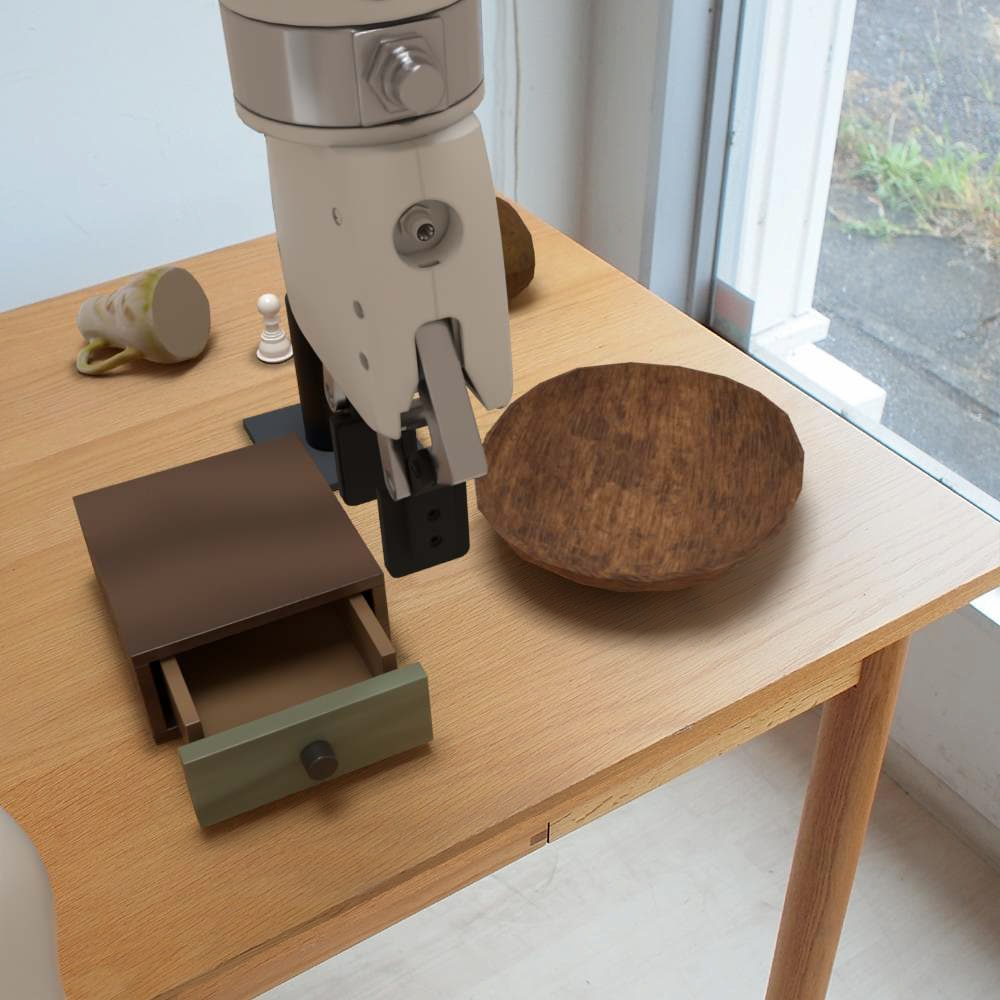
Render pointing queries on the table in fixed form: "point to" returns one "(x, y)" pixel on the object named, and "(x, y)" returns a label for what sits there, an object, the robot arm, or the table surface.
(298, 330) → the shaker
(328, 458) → the mat
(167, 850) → the table surface
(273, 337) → the chess pawn
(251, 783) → the drawer
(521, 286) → the potato
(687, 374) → the bowl
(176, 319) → the mug
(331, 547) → the cabinet
